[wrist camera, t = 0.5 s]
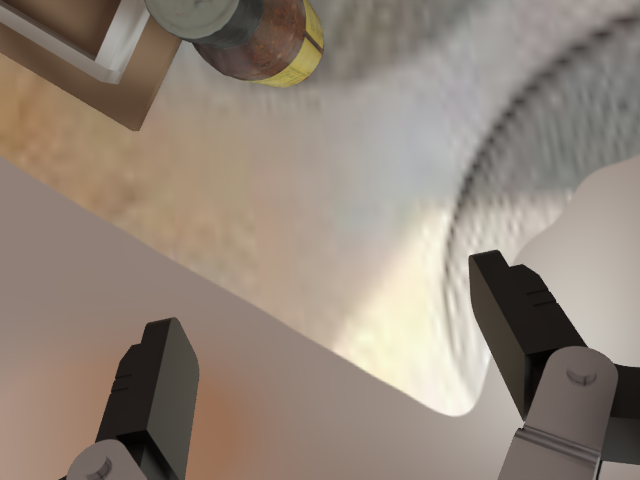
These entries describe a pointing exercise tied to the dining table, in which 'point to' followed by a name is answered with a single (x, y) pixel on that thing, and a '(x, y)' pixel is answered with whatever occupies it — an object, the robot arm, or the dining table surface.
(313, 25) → the sauce bottle
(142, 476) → the robot arm
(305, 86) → the dining table surface
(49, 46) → the carrier board
